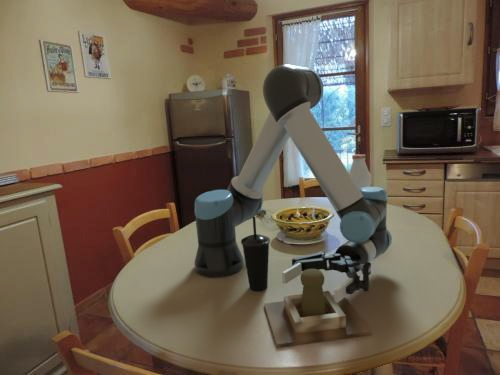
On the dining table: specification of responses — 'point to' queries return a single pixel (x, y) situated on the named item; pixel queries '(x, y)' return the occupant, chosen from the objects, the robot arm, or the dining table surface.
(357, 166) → the fruit juice
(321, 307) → the olive green peg doll
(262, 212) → the kitchen whisk
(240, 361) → the dining table surface
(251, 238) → the drinking cup
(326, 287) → the dining table surface
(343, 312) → the well board
